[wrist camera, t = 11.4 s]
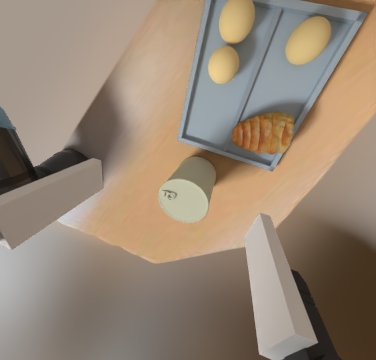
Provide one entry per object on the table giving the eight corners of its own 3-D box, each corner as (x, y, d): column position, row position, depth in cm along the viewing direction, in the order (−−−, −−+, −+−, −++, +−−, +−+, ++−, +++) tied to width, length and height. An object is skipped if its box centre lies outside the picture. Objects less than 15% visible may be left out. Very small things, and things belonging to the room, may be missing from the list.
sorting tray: (179, 138, 32) (177, 140, 31) (210, -9, 21) (208, -17, 20) (270, 168, 30) (272, 171, 29) (358, 19, 19) (368, 12, 18)
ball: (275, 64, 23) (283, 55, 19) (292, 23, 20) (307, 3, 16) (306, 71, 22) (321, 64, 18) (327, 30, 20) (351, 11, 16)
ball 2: (206, 81, 26) (201, 77, 22) (215, 48, 24) (211, 37, 20) (232, 88, 25) (231, 85, 21) (243, 55, 23) (245, 44, 19)
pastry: (230, 151, 29) (229, 156, 26) (232, 114, 26) (232, 115, 23) (285, 151, 26) (291, 157, 23) (293, 110, 24) (302, 110, 20)
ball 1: (216, 45, 23) (212, 33, 19) (226, 3, 21) (225, -20, 17) (244, 51, 23) (246, 40, 19) (258, 9, 21) (264, -13, 17)
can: (186, 149, 33) (164, 170, 23) (223, 167, 33) (218, 196, 22) (173, 181, 38) (151, 210, 28) (206, 197, 37) (196, 232, 27)
